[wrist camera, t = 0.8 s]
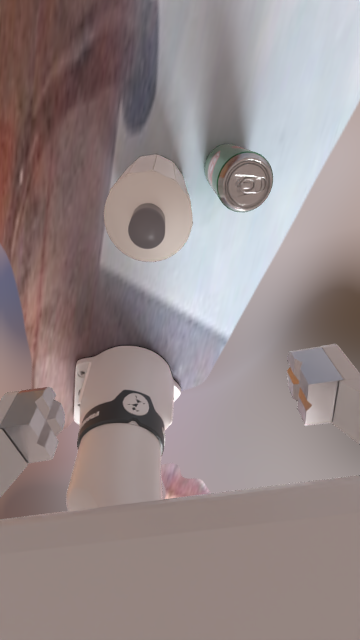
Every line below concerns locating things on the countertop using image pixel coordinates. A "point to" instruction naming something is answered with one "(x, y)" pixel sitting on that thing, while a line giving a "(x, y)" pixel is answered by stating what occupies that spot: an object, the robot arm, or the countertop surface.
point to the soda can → (239, 177)
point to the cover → (149, 210)
